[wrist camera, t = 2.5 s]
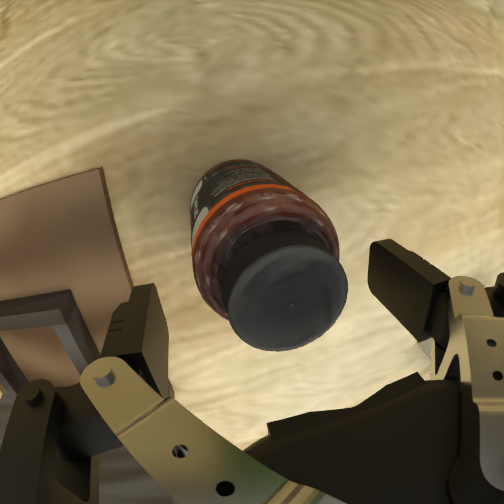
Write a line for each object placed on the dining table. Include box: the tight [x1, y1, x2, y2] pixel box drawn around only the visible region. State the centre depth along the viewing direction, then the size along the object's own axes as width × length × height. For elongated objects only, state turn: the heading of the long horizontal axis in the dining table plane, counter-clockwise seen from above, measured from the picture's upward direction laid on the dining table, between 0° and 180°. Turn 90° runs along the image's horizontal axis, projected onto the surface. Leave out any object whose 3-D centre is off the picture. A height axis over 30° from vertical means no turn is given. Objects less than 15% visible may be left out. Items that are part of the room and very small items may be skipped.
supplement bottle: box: [190, 160, 348, 352], centre depth 14 cm, size 6×6×11 cm
